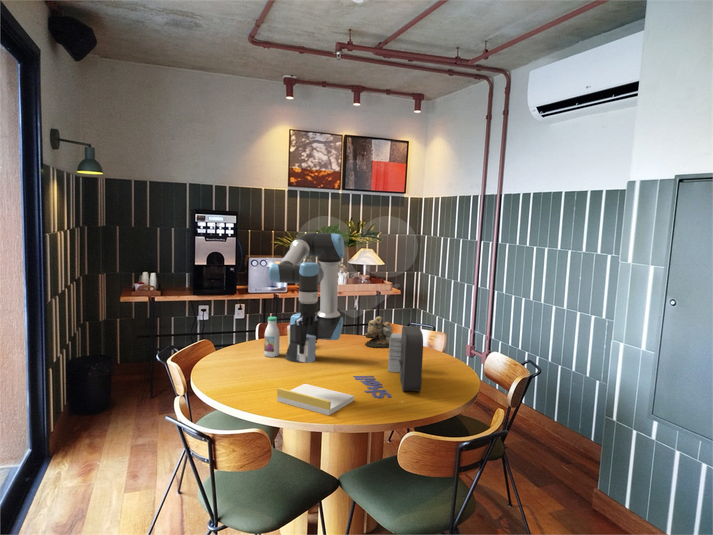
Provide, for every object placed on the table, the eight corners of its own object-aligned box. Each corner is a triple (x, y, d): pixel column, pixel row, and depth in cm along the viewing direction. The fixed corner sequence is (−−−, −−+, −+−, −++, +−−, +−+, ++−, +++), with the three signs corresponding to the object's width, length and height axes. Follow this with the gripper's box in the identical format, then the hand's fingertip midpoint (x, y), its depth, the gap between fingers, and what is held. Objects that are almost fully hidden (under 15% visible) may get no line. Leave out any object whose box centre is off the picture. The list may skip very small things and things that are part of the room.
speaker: (420, 395, 200) (423, 336, 198) (399, 394, 200) (402, 335, 198) (415, 376, 225) (417, 323, 222) (396, 375, 225) (399, 322, 223)
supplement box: (407, 373, 229) (408, 338, 227) (387, 371, 231) (389, 337, 229) (409, 367, 238) (410, 334, 237) (390, 366, 240) (391, 332, 238)
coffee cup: (296, 350, 262) (297, 328, 260) (283, 347, 266) (283, 326, 265) (307, 347, 269) (307, 326, 268) (293, 344, 274) (294, 323, 273)
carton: (296, 360, 192) (297, 335, 191) (302, 357, 196) (303, 333, 195) (308, 363, 189) (309, 338, 188) (314, 360, 193) (315, 336, 192)
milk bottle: (273, 352, 256) (274, 315, 254) (282, 355, 251) (283, 317, 249) (261, 354, 251) (261, 316, 249) (269, 358, 245) (270, 319, 243)
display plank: (277, 401, 188) (277, 388, 187) (304, 388, 203) (304, 376, 203) (328, 415, 176) (329, 402, 176) (353, 400, 192) (354, 388, 191)
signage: (393, 396, 197) (369, 398, 194) (393, 398, 197) (369, 399, 194) (373, 374, 224) (353, 375, 221) (373, 376, 224) (352, 377, 221)
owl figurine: (367, 349, 271) (368, 319, 269) (360, 344, 282) (361, 315, 281) (397, 347, 276) (398, 318, 275) (389, 342, 287) (390, 314, 286)
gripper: (302, 305, 181) (300, 366, 183) (328, 300, 196) (326, 357, 198) (286, 303, 185) (285, 363, 187) (313, 298, 200) (311, 354, 202)
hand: (306, 360), depth 192 cm, fingers closed on carton, 4 cm apart
